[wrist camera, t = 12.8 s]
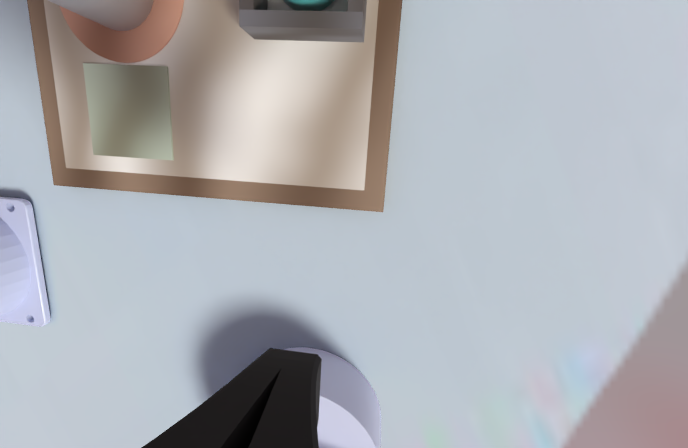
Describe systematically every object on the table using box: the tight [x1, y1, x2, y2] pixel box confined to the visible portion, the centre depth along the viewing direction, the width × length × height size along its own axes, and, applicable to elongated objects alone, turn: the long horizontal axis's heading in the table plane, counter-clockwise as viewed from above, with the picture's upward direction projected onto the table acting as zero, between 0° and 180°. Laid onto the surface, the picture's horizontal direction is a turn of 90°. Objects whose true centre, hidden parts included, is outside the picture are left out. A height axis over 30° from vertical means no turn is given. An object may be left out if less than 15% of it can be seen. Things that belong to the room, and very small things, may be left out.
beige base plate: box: [27, 0, 402, 212], centre depth 15 cm, size 18×14×2 cm
